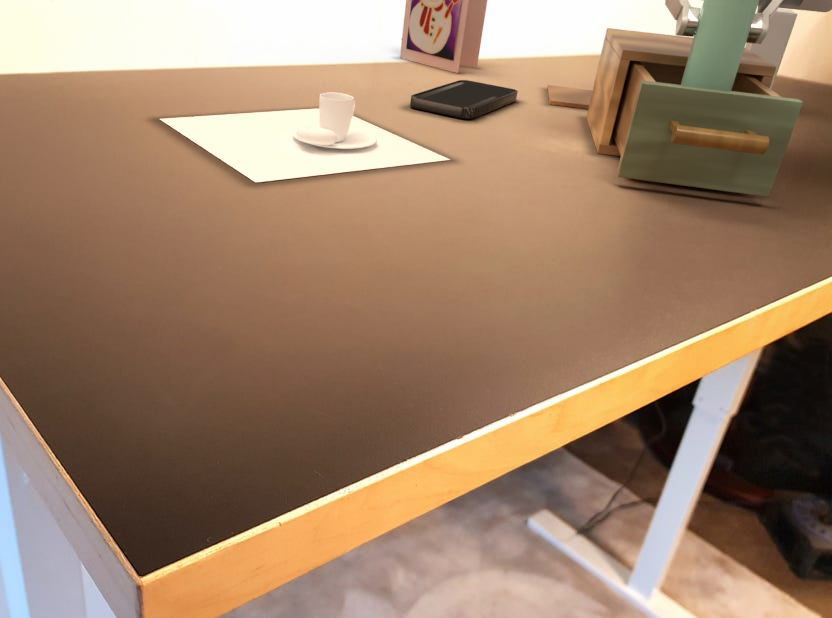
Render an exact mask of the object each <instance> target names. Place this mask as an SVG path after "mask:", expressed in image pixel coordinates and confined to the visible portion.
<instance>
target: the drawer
mask: <svg viewBox="0 0 832 618" xmlns="http://www.w3.org/2000/svg"><path fill="white" fill-rule="evenodd" d="M684 71H685V67H682V66H674V65H665V64H657V63H648V62H640V61H631V60H630V62H629V66H628V70H627V74H626V79H625V83H624V87H623V91H622V95H621V99H620V103H619V107H618V111H617V115H616V119H615V123H614V127H613V131H612V135H613V138H614V140H615V142H616V145H617V147H618V150H619V152H620V155H621V156H620V157H619V161H618V165H617V170H616V175H617V177H618V178H623V179H632V180H639V181H647V182H653V183H661V184H670V185H676V186H684V187H691V188H699V189H706V190H714V191H720V192H727V193H728V192H729V193H737V194H743V195H744V194H745V195H751V196H758V197H766V198H769V197H770V195H771V192H772V190H773V186H774V183H775V181H776V178H777V175H778V173H779V169H780V168H781V164H782V162H783V159H784V156H785V154H786V151H787V148H788V145H789V141H790V140H791V136H792V134H793V132H794V129H795V125H796V123H797V120H798V118H799V115H800V112H801V110H802V107H803V104H804V102H803V101H802V100H801V99H799V98H793V97H784V96H781V95H780V94H778V93H777V92H775V91H774V90H773V89H772V90H771V89H770V88H768V87H767V86H765V85H764V84H763V83H761V82H760V81H758V80H757V79H756V78H754V77H753V76H751V75H750V74H742V73H737V74H736V77H735V80H734V83H733V87H732V90H731V91H727V90H718V89H710V88H702V87H693V86H685V85H681V82H682V78H683V75H684Z"/></svg>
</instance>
